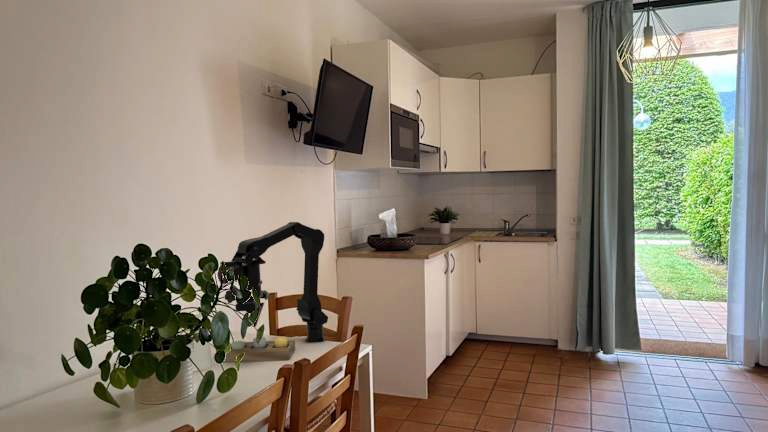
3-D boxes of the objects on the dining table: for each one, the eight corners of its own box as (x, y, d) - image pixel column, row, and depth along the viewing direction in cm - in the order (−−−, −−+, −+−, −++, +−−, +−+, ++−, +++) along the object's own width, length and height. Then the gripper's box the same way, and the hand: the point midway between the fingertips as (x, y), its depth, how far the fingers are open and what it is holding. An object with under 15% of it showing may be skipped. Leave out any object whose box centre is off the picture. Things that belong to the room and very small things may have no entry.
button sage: (234, 352, 177) (233, 340, 176) (246, 352, 177) (245, 340, 176) (230, 356, 173) (230, 344, 172) (243, 356, 173) (242, 343, 172)
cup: (215, 363, 168) (213, 312, 168) (204, 371, 160) (201, 318, 159) (190, 363, 169) (188, 312, 168) (178, 371, 161) (175, 319, 160)
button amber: (276, 348, 177) (275, 336, 176) (288, 348, 177) (288, 336, 176) (273, 352, 173) (273, 340, 172) (286, 351, 173) (285, 339, 172)
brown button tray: (232, 351, 181) (232, 342, 181) (295, 349, 181) (294, 340, 181) (222, 362, 169) (222, 353, 169) (289, 360, 169) (288, 350, 169)
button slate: (255, 349, 177) (254, 337, 176) (267, 348, 177) (266, 336, 176) (252, 352, 173) (251, 340, 172) (264, 352, 173) (264, 340, 172)
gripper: (235, 275, 183) (237, 320, 184) (217, 285, 164) (220, 335, 165) (267, 273, 183) (270, 318, 184) (253, 284, 164) (256, 334, 165)
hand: (254, 326), depth 175 cm, fingers closed
